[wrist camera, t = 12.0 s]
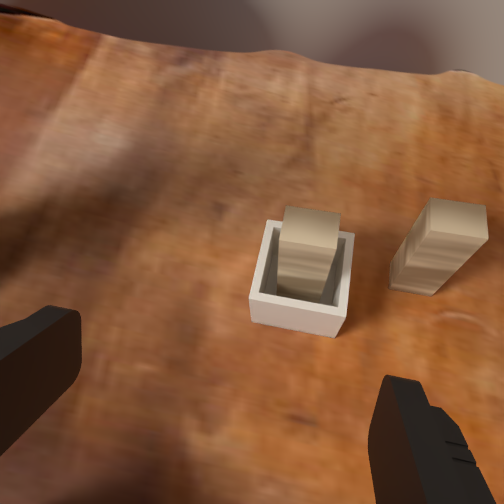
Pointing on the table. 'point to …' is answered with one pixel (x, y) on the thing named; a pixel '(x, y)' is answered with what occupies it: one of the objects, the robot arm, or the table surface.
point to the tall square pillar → (306, 252)
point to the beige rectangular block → (438, 245)
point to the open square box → (297, 311)
